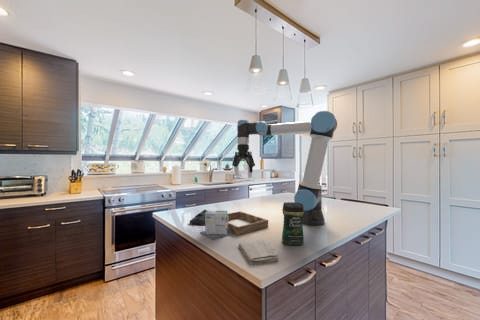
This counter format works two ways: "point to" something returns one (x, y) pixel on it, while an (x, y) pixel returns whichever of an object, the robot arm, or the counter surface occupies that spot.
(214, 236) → the mat
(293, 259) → the counter surface
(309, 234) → the counter surface
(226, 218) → the light bulb box
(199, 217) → the dark slate chunk
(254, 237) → the counter surface
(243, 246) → the washcloth
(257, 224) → the brown wooden tray
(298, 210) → the coffee jar
